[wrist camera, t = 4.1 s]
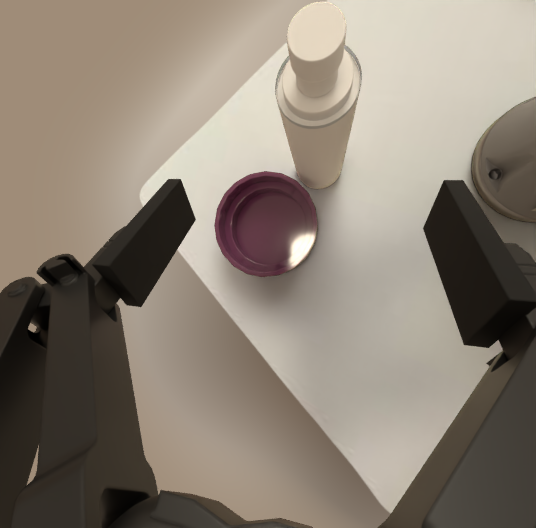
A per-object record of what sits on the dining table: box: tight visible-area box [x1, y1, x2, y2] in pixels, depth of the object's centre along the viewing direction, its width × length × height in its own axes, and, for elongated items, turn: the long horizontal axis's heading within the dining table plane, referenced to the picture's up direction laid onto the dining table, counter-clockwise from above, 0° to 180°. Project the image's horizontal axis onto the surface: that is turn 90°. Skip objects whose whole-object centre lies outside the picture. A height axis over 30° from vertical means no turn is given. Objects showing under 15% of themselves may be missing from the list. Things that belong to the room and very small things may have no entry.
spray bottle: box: [275, 2, 362, 189], centre depth 26 cm, size 7×7×25 cm
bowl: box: [215, 171, 318, 277], centre depth 37 cm, size 14×14×6 cm
